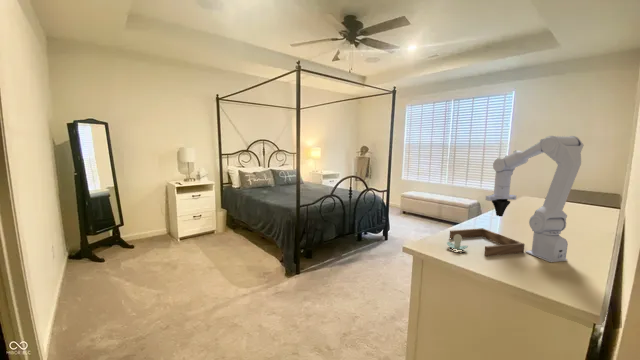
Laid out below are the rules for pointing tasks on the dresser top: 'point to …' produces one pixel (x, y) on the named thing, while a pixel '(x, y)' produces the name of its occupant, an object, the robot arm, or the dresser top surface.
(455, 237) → the pacifier
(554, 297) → the dresser top surface
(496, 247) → the open box
